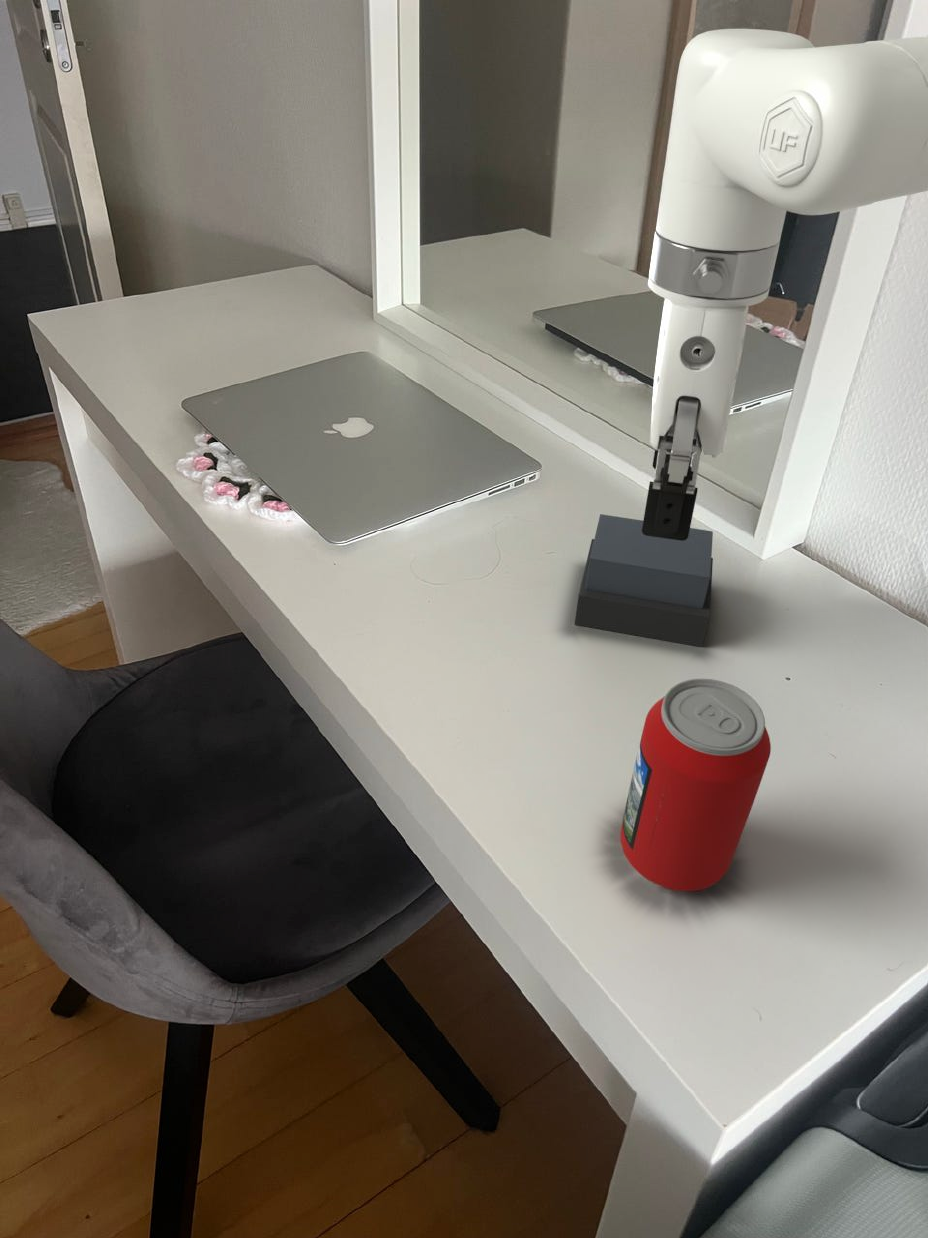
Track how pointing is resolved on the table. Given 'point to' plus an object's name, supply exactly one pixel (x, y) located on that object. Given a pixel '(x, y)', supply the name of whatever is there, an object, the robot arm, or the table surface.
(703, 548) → the pad top
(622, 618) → the pad base
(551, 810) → the table surface
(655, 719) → the beverage can
